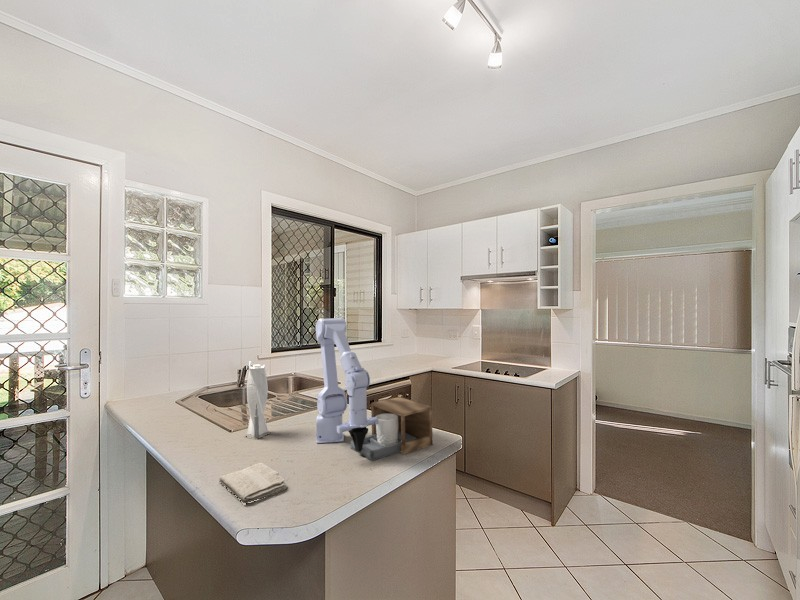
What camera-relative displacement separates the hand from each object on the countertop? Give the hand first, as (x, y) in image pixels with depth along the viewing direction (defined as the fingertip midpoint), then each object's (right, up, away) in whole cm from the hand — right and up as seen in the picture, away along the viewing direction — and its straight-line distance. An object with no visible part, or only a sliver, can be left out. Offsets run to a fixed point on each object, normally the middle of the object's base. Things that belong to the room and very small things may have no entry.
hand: (358, 450), depth 115 cm
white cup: (+9, -2, +7) cm, 12 cm away
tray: (+8, -1, +6) cm, 10 cm away
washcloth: (-26, -2, -19) cm, 33 cm away
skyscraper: (-41, -3, +21) cm, 46 cm away
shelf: (+14, -1, +11) cm, 18 cm away
